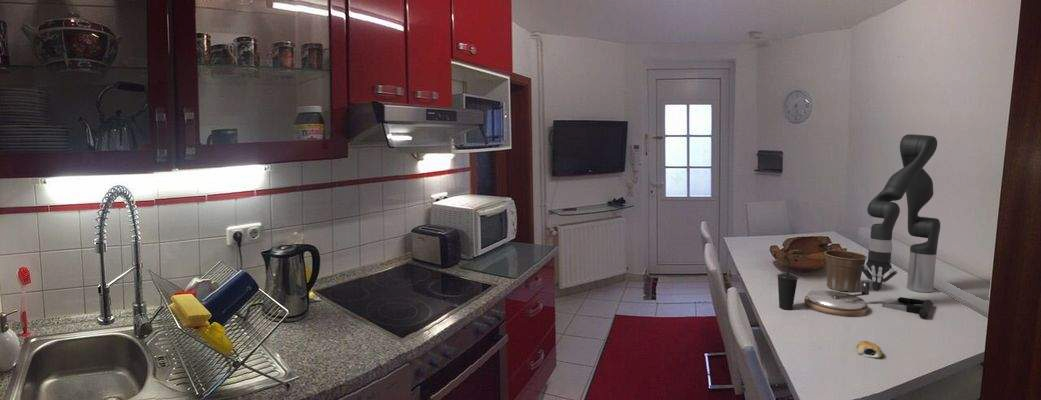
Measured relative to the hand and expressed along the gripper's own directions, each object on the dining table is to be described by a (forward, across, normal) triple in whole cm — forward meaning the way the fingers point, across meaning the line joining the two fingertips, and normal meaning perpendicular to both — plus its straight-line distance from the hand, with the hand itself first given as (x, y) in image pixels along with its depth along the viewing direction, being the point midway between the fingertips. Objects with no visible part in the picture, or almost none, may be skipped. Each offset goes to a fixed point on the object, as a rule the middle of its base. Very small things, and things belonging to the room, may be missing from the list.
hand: (876, 290), depth 199 cm
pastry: (+7, +14, -52) cm, 55 cm away
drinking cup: (+7, -22, -31) cm, 38 cm away
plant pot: (+7, -17, +15) cm, 24 cm away
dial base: (+6, -10, -14) cm, 18 cm away
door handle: (+7, +10, +6) cm, 13 cm away
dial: (+4, -8, -11) cm, 15 cm away
